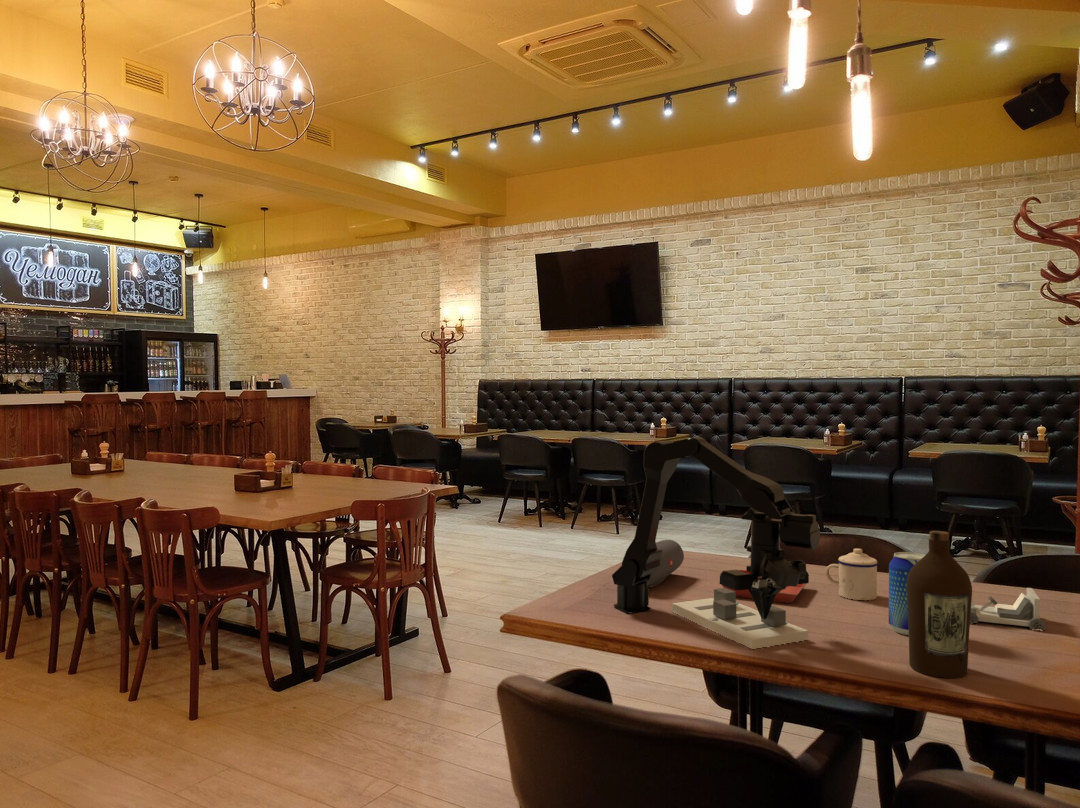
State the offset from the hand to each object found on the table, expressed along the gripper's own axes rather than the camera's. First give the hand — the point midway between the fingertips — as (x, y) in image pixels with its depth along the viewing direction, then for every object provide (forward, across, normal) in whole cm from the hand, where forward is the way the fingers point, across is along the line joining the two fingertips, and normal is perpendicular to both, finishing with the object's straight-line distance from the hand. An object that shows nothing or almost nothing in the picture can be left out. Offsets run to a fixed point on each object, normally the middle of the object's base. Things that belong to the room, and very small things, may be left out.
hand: (763, 618), depth 160 cm
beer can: (+3, +30, -10) cm, 32 cm away
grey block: (+1, +2, +16) cm, 16 cm away
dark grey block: (+1, +3, 0) cm, 3 cm away
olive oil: (+4, +17, -28) cm, 33 cm away
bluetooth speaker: (+4, +3, +47) cm, 47 cm away
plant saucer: (+4, +23, +27) cm, 36 cm away
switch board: (+4, -1, +8) cm, 9 cm away
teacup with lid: (+3, +40, +16) cm, 44 cm away
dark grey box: (+1, -4, +8) cm, 9 cm away
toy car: (+3, +54, -11) cm, 55 cm away
